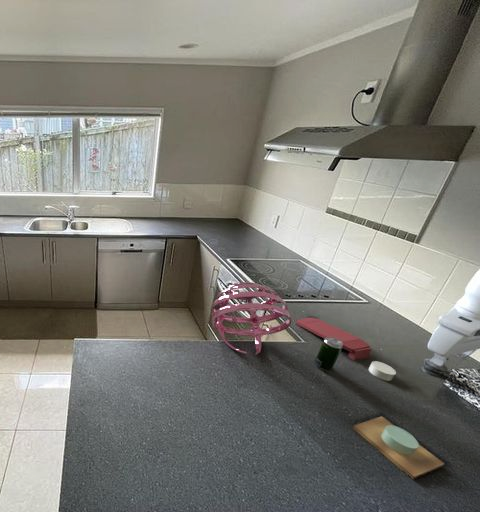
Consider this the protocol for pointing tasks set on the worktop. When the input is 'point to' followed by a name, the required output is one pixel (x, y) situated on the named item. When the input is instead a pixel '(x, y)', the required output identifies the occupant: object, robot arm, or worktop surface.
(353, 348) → the red long block
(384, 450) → the oak board
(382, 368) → the white round disc
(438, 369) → the grey chess piece
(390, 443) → the mint green round lid
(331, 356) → the beer can
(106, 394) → the worktop surface
